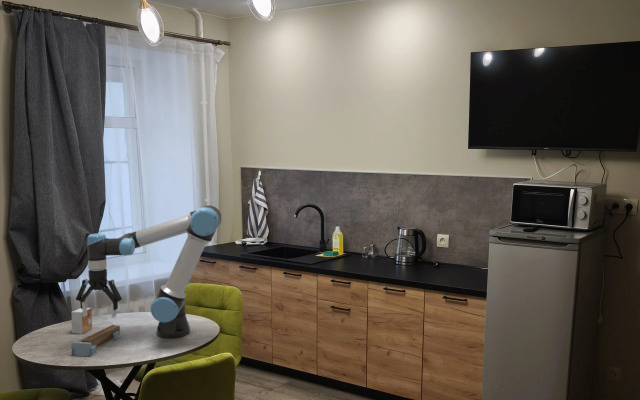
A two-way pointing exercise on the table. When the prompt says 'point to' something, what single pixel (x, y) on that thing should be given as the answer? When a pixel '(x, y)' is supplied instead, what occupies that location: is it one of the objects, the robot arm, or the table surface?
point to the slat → (102, 336)
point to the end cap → (83, 349)
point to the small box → (81, 321)
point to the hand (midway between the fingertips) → (99, 316)
